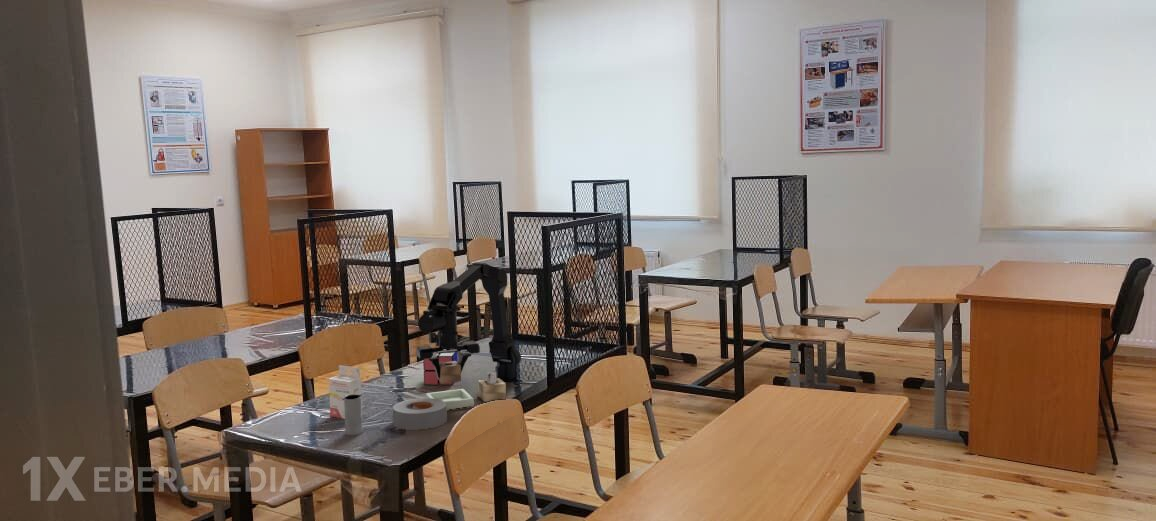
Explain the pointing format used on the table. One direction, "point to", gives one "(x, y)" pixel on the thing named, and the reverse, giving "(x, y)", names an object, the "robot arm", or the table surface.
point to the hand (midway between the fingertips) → (449, 376)
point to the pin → (491, 378)
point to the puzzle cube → (430, 372)
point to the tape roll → (419, 414)
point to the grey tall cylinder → (353, 414)
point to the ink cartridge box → (343, 389)
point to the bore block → (491, 390)
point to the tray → (453, 398)
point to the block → (449, 372)
